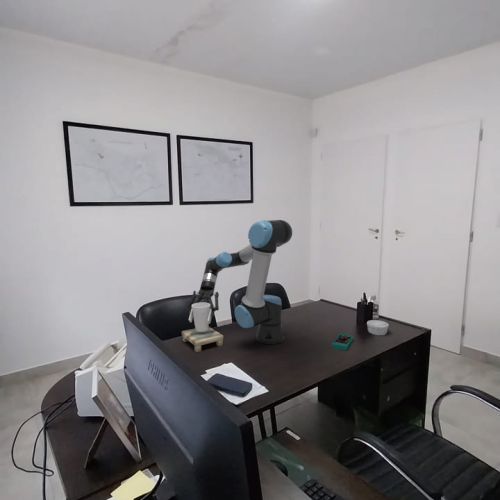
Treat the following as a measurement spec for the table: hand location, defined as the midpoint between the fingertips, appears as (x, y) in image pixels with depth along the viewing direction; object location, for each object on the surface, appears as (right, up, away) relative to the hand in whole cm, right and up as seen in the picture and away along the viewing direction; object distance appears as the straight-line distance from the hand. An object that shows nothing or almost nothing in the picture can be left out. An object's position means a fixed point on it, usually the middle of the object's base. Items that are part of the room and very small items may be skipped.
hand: (199, 321), depth 170 cm
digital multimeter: (+72, -12, +1) cm, 73 cm away
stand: (+1, -12, +5) cm, 13 cm away
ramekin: (+95, -9, +15) cm, 97 cm away
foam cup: (+1, -5, +4) cm, 6 cm away
